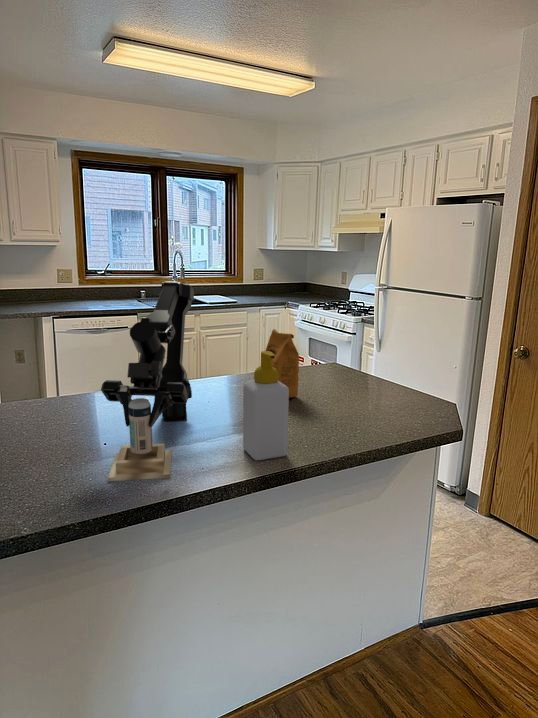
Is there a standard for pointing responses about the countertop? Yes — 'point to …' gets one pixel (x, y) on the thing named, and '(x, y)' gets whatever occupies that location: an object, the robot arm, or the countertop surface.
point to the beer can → (140, 426)
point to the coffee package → (285, 360)
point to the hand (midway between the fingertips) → (138, 426)
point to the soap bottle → (265, 412)
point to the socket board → (141, 464)
